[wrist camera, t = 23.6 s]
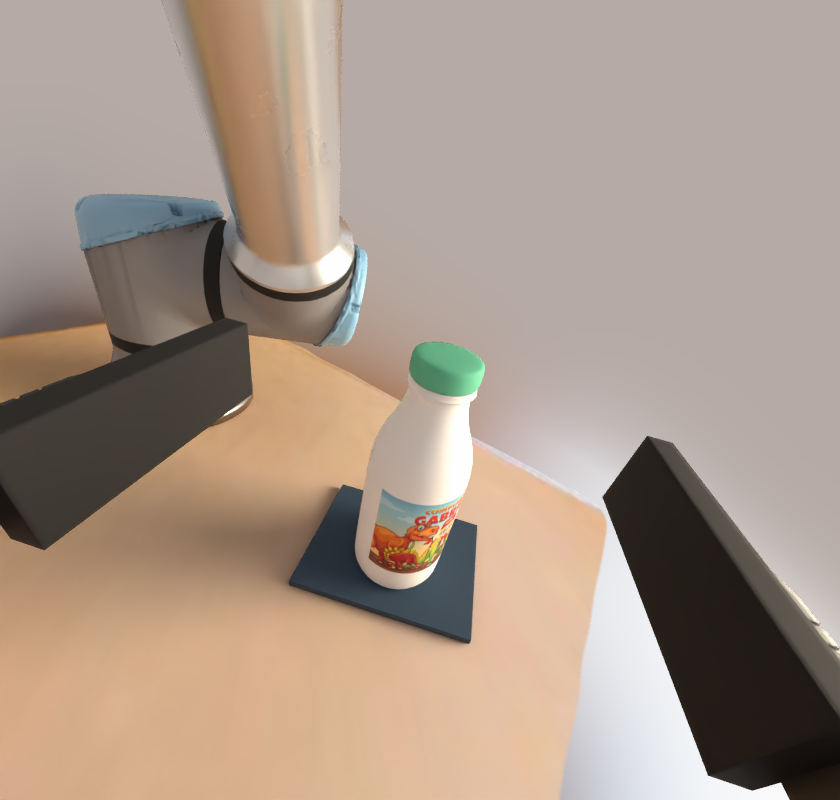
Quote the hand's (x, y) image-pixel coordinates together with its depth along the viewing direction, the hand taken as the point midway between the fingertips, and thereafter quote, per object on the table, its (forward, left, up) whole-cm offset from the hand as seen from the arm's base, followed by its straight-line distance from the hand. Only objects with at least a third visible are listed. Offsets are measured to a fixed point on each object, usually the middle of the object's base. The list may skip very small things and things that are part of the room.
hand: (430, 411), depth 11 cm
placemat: (-8, +6, -22) cm, 24 cm away
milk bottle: (-8, +6, -22) cm, 24 cm away
